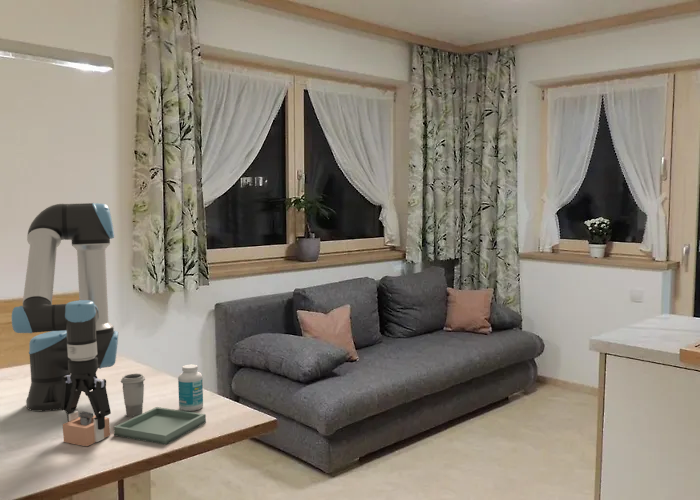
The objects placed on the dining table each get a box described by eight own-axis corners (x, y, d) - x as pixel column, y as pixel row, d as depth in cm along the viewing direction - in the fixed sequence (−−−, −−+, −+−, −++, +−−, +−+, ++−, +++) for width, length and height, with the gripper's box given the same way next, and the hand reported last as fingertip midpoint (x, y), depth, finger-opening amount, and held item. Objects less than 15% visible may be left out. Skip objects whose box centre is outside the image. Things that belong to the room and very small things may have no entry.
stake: (79, 440, 176) (77, 414, 175) (86, 436, 179) (85, 410, 178) (89, 442, 175) (87, 415, 174) (96, 438, 177) (95, 412, 176)
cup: (123, 419, 192) (122, 380, 191) (120, 412, 198) (119, 375, 197) (148, 415, 195) (146, 377, 194) (144, 409, 201) (142, 371, 200)
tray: (114, 435, 179) (113, 426, 179) (157, 414, 196) (156, 406, 196) (165, 444, 172) (165, 435, 172) (205, 422, 189) (205, 414, 189)
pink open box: (63, 441, 175) (62, 424, 174) (91, 429, 184) (90, 412, 183) (87, 446, 171) (86, 428, 171) (114, 433, 181) (113, 416, 180)
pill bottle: (197, 412, 197) (195, 369, 196) (174, 411, 199) (173, 368, 198) (207, 404, 205) (205, 363, 203) (185, 403, 206) (184, 362, 205)
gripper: (42, 357, 175) (47, 437, 177) (102, 364, 167) (106, 448, 169) (64, 350, 182) (68, 427, 184) (122, 357, 174) (126, 438, 176)
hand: (86, 437), depth 177 cm, fingers closed on pink open box, 8 cm apart
